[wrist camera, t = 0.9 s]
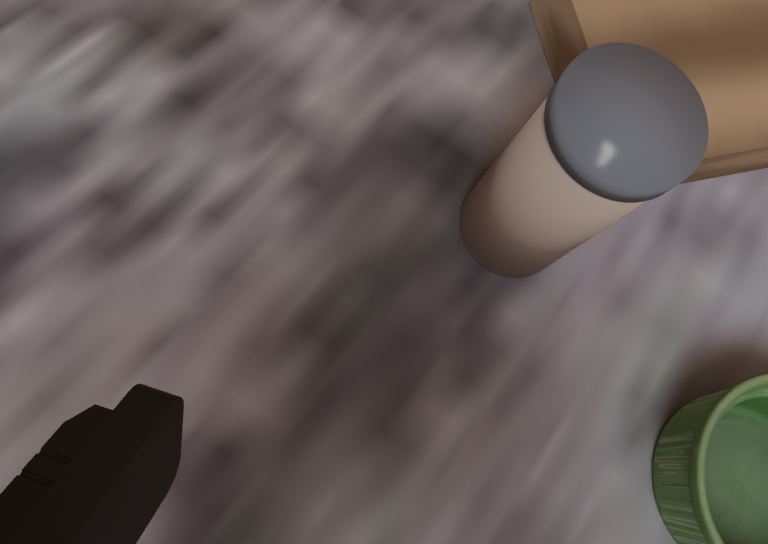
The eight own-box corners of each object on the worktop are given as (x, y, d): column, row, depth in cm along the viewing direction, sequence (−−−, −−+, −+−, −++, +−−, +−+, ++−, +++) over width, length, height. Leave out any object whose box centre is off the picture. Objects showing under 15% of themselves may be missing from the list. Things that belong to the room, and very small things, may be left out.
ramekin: (854, 514, 32) (945, 522, 28) (719, 636, 29) (796, 665, 25) (740, 347, 33) (810, 331, 29) (599, 450, 30) (654, 449, 26)
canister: (445, 183, 32) (536, 52, 22) (545, 166, 34) (677, 34, 23) (474, 289, 31) (586, 204, 21) (577, 268, 32) (731, 177, 22)
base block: (528, 3, 36) (557, -43, 32) (708, -17, 38) (751, -62, 35) (593, 200, 33) (630, 171, 30) (779, 165, 36) (833, 135, 33)
